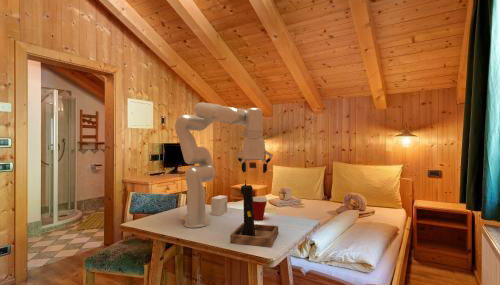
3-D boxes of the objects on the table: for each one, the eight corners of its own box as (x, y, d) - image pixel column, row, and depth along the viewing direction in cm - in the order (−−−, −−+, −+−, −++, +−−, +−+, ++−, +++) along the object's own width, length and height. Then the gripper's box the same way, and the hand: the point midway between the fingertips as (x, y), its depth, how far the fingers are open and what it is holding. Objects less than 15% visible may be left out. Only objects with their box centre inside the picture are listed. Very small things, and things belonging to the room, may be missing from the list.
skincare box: (220, 216, 158) (220, 198, 158) (210, 215, 160) (210, 198, 160) (227, 211, 167) (227, 195, 168) (218, 211, 170) (218, 194, 170)
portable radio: (255, 239, 115) (254, 182, 115) (241, 239, 115) (240, 182, 115) (254, 233, 123) (253, 179, 123) (241, 233, 123) (241, 180, 123)
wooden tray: (230, 243, 113) (230, 235, 113) (242, 230, 130) (242, 223, 130) (271, 247, 108) (270, 238, 108) (278, 233, 125) (278, 225, 125)
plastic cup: (266, 222, 143) (266, 200, 143) (247, 221, 145) (247, 199, 146) (269, 217, 154) (268, 196, 154) (251, 216, 156) (251, 196, 156)
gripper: (233, 135, 119) (233, 172, 118) (271, 134, 114) (271, 173, 114) (239, 135, 126) (238, 171, 126) (274, 135, 121) (274, 172, 121)
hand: (254, 172), depth 120 cm, fingers open, 9 cm apart
